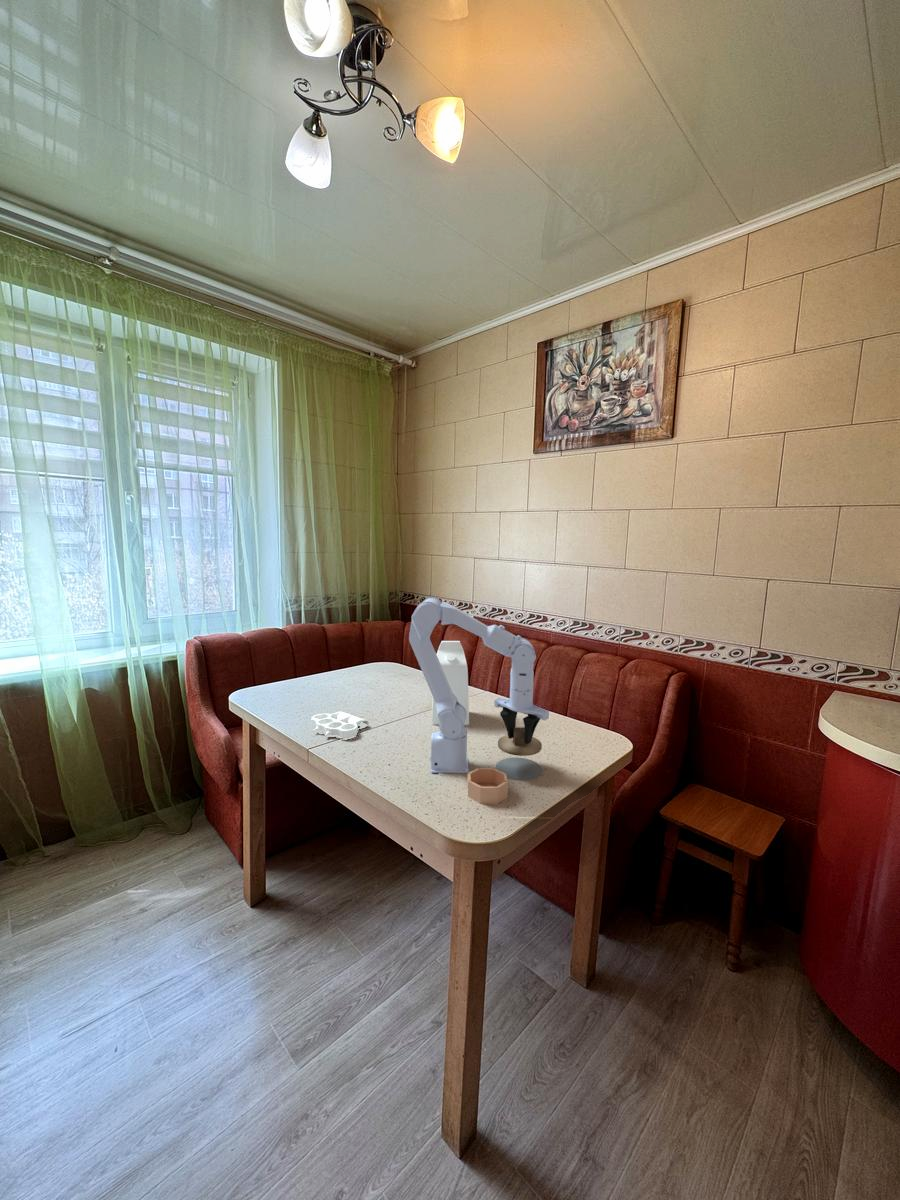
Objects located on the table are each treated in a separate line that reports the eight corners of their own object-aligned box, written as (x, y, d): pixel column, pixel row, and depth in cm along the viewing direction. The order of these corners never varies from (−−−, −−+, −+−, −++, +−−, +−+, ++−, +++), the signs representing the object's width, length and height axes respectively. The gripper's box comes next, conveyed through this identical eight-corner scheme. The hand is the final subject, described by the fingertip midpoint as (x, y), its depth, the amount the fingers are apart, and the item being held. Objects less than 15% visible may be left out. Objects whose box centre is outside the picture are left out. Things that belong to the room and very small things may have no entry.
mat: (497, 781, 109) (497, 780, 109) (493, 758, 121) (493, 757, 121) (547, 782, 109) (547, 780, 109) (538, 759, 121) (538, 757, 121)
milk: (466, 711, 155) (467, 637, 152) (469, 724, 144) (470, 645, 141) (432, 711, 155) (432, 637, 152) (431, 724, 144) (432, 645, 141)
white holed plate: (375, 730, 140) (338, 746, 128) (337, 716, 151) (300, 730, 139) (375, 720, 140) (338, 735, 128) (337, 707, 150) (300, 720, 139)
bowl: (468, 804, 99) (468, 787, 99) (467, 783, 108) (467, 767, 108) (509, 805, 99) (509, 788, 99) (504, 783, 108) (505, 768, 108)
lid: (500, 755, 109) (500, 738, 109) (496, 736, 120) (496, 721, 119) (545, 756, 109) (546, 739, 108) (537, 737, 120) (537, 721, 119)
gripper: (555, 690, 111) (553, 742, 113) (505, 678, 120) (503, 727, 122) (542, 697, 106) (540, 752, 107) (490, 685, 115) (489, 736, 116)
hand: (519, 739), depth 114 cm, fingers closed on lid, 4 cm apart
